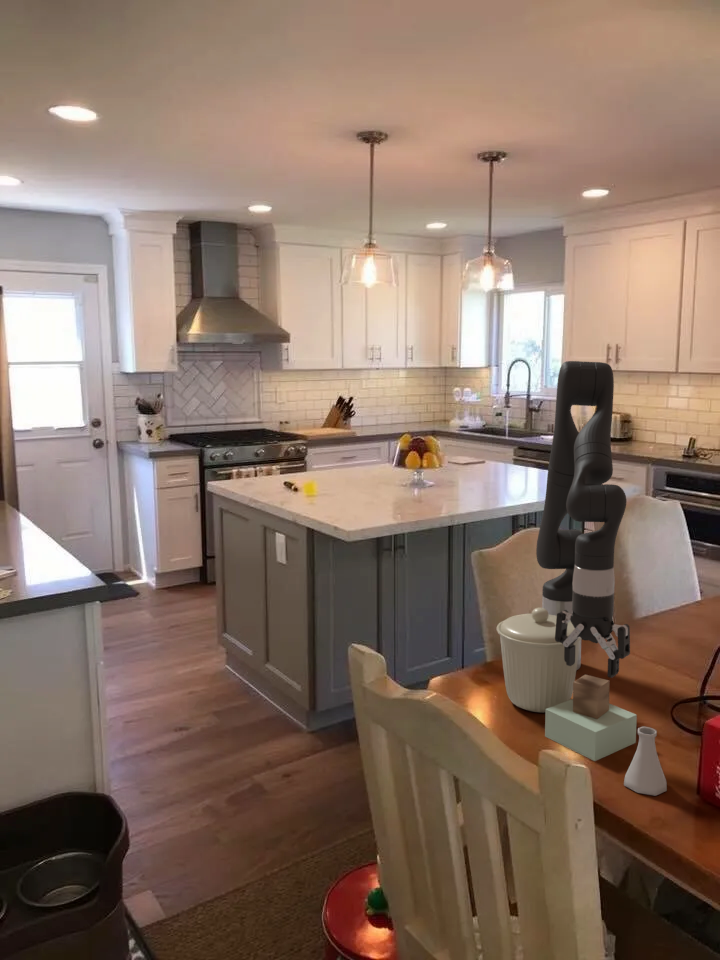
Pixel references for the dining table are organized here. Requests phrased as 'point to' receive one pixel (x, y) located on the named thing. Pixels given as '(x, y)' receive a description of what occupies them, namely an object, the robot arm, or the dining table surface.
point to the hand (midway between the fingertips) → (590, 670)
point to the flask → (646, 766)
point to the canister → (536, 661)
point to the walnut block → (591, 696)
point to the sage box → (590, 730)
